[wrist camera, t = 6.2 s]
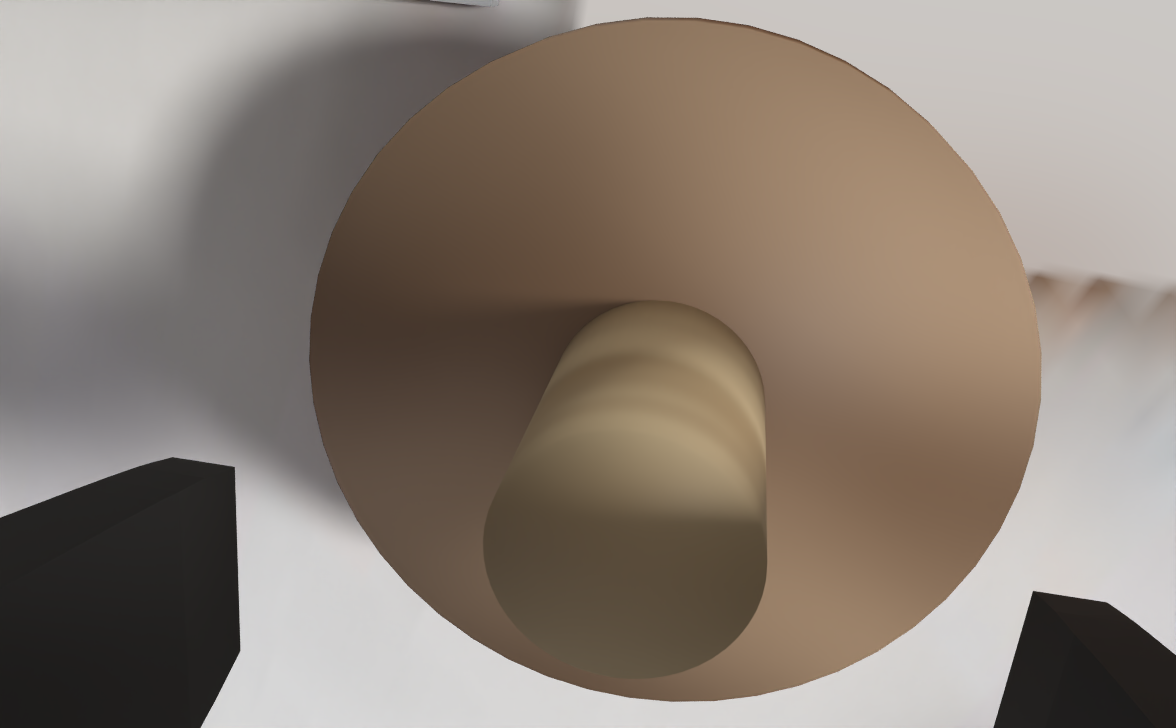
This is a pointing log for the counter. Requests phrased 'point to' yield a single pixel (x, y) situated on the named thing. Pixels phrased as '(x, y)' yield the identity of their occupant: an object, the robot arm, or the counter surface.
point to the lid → (675, 360)
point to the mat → (474, 2)
